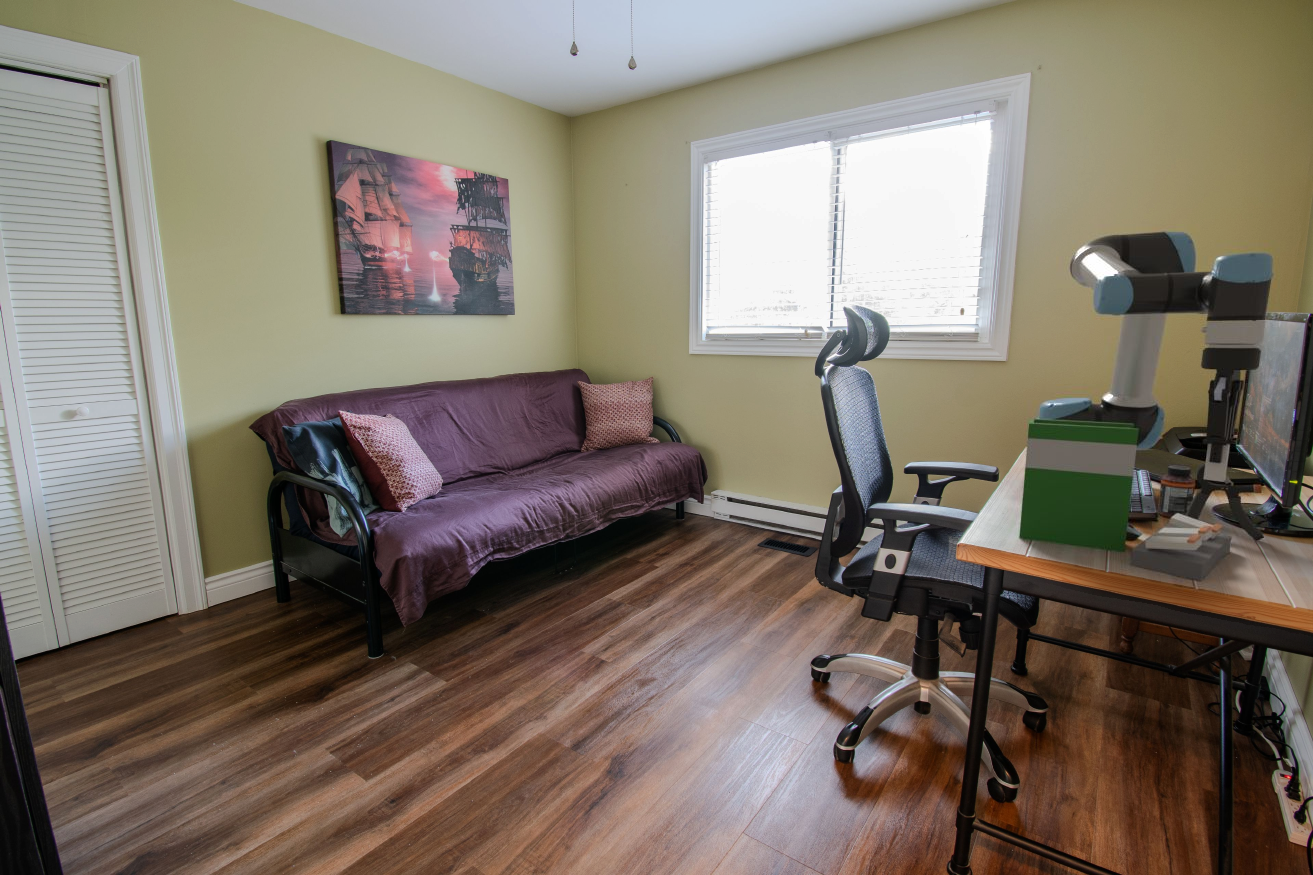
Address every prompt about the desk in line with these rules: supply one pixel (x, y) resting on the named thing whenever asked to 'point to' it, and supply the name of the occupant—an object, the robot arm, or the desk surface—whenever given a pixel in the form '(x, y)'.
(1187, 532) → the middle rocker
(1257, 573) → the desk surface
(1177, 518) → the rocker
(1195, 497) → the hand grip strengthener
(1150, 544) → the rocker
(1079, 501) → the hardback book
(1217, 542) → the rocker switch box
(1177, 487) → the supplement bottle
